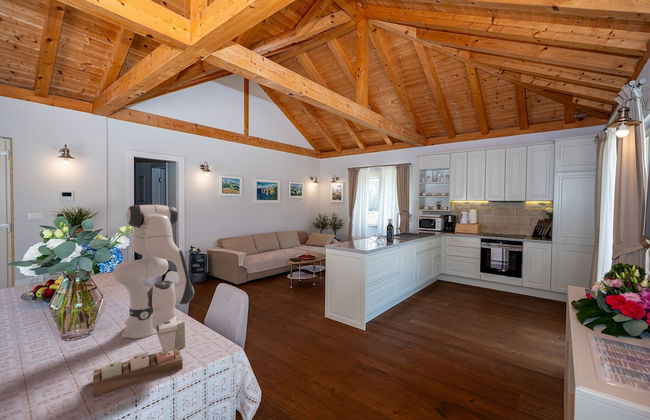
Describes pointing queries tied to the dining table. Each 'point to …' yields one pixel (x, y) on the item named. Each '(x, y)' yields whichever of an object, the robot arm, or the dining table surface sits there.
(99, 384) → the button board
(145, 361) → the tile
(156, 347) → the dining table surface
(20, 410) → the dining table surface
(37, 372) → the dining table surface
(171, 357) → the three-pip tile
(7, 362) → the dining table surface
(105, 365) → the tile
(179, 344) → the skincare box
